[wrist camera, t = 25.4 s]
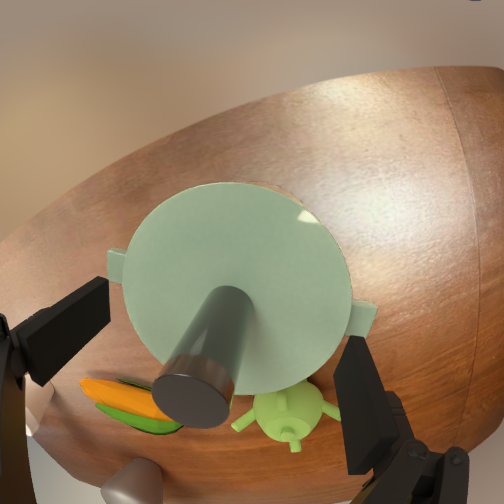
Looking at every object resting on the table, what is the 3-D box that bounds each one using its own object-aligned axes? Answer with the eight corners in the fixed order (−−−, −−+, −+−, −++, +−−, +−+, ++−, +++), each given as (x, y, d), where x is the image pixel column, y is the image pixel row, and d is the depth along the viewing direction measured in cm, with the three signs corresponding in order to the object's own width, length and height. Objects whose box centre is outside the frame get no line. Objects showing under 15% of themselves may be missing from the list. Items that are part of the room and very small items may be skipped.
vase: (183, 467, 46) (151, 554, 23) (170, 484, 51) (143, 555, 27) (123, 439, 46) (78, 520, 22) (119, 460, 51) (83, 527, 27)
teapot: (279, 350, 34) (276, 395, 26) (345, 384, 35) (354, 427, 27) (235, 397, 38) (225, 439, 29) (297, 425, 38) (296, 466, 30)
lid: (139, 166, 16) (25, 172, 7) (375, 211, 15) (464, 256, 6) (132, 355, 20) (73, 433, 11) (311, 398, 19) (315, 499, 11)
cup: (59, 408, 48) (32, 442, 35) (25, 375, 47) (-6, 404, 34) (66, 389, 44) (33, 428, 31) (27, 351, 43) (-9, 383, 30)
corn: (179, 452, 33) (73, 411, 34) (192, 421, 40) (94, 388, 42) (177, 423, 31) (62, 380, 33) (192, 390, 39) (87, 358, 40)
